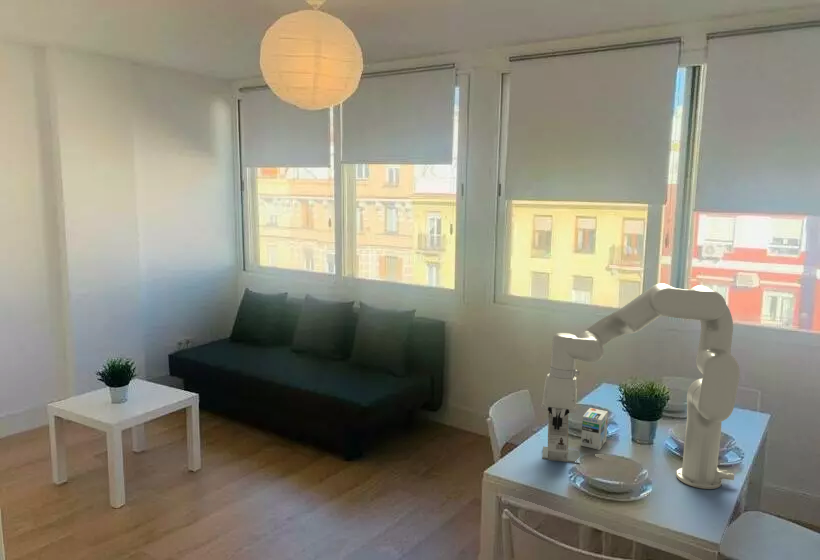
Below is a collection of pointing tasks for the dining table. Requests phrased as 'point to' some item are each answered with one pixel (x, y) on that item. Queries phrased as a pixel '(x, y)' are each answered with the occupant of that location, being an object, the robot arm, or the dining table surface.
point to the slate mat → (572, 455)
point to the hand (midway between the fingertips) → (556, 428)
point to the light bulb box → (594, 428)
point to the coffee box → (558, 439)
